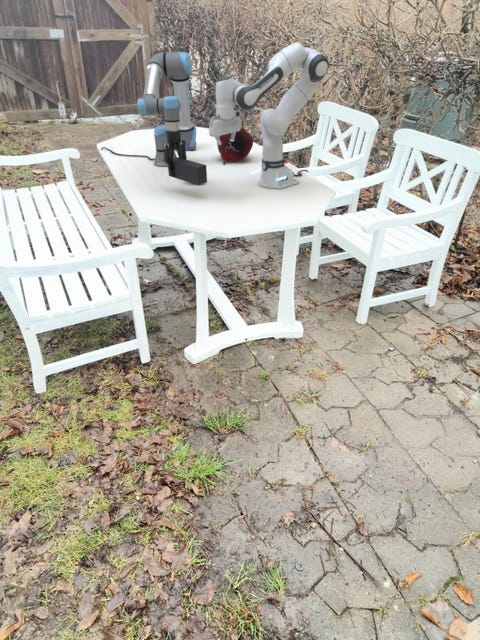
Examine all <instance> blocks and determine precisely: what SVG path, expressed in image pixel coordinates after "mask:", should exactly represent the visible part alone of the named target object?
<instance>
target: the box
mask: <svg viewBox="0 0 480 640" xmlns="http://www.w3.org/2000/svg"><path fill="white" fill-rule="evenodd" d="M172 164H173V166H174V177H173V178H174V179H177V180H180V181H183V182H187V183H190V184H193V185H196V186H201V185H203V184H207V183H208V173H207V169H208V168H207V164H204V163H202V162H201V163H200V162H197V161H193V160H189V159H182V158H179V156H176V157H174V158H173V161H172ZM167 170H168V177H171V176H170V171H169V168H168V167H167ZM171 178H172V177H171Z"/></svg>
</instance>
